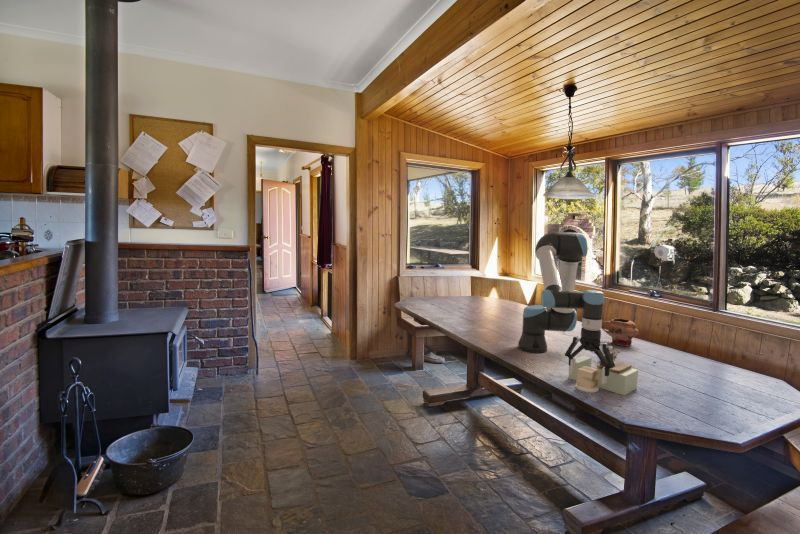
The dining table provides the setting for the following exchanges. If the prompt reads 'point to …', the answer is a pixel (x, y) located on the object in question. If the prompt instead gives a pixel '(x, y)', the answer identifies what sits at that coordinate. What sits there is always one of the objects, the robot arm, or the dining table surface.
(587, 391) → the cream coaster
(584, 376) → the maple block
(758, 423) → the dining table surface
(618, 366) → the walnut cover
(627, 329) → the decorative planter
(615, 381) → the pale green split block
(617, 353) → the game die
